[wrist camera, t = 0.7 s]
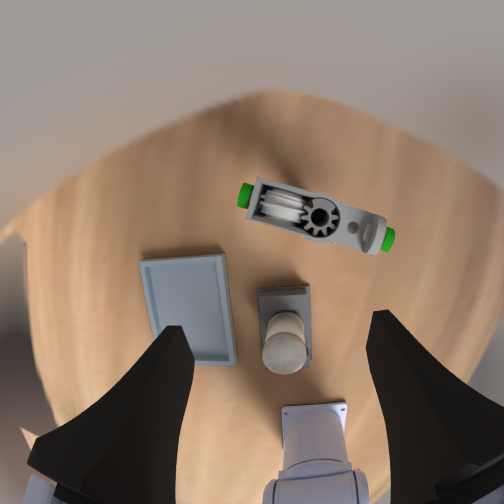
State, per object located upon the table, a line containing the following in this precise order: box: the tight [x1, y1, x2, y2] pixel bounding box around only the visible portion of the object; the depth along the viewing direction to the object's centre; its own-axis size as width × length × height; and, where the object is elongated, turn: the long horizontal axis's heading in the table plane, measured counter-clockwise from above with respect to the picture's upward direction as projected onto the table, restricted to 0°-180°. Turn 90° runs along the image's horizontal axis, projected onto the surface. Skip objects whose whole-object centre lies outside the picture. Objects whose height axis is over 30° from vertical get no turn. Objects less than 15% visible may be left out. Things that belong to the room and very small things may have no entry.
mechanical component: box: [237, 177, 395, 256], centre depth 21 cm, size 3×10×10 cm, turn 75°
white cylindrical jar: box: [262, 310, 307, 374], centre depth 25 cm, size 4×4×6 cm
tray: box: [139, 253, 238, 366], centre depth 29 cm, size 12×9×2 cm
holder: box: [257, 285, 312, 369], centre depth 27 cm, size 8×5×2 cm, turn 6°
